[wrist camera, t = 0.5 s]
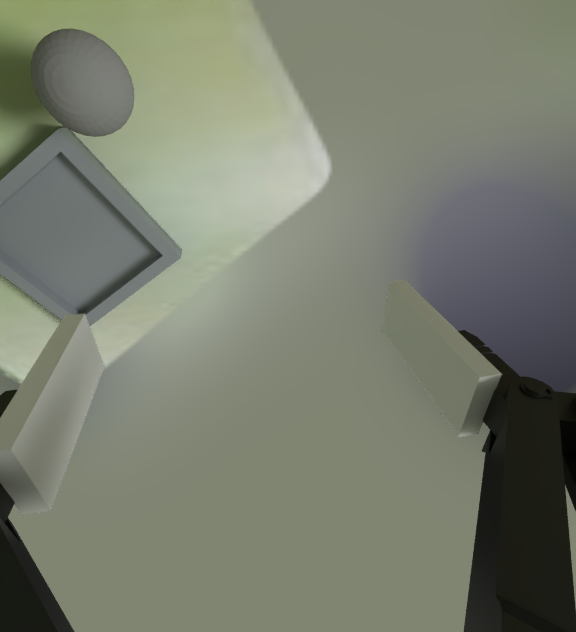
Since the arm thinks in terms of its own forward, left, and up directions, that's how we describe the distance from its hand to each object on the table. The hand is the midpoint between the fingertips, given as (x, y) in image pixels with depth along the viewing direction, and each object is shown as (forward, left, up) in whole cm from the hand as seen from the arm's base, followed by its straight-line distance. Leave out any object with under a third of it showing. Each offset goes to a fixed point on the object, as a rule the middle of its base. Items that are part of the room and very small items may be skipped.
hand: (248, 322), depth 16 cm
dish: (-6, -14, -24) cm, 28 cm away
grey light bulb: (-13, -2, -24) cm, 27 cm away
